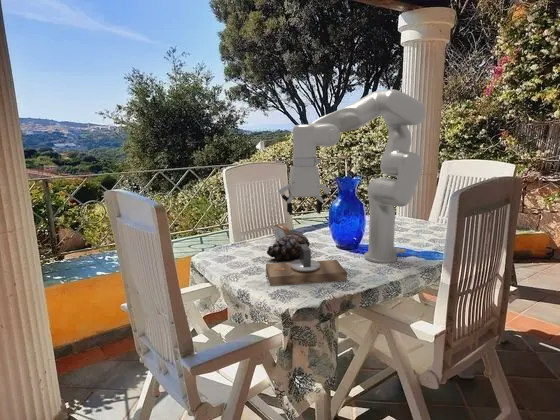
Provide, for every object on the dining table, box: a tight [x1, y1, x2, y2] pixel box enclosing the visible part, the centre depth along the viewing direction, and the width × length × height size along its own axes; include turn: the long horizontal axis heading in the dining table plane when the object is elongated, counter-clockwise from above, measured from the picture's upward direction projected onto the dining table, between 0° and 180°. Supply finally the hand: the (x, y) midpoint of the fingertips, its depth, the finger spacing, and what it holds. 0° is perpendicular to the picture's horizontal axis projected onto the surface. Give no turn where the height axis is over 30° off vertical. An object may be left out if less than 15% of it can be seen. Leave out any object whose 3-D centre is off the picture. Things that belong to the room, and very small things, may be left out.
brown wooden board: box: [265, 259, 348, 287], centre depth 141 cm, size 26×13×3 cm, turn 98°
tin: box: [273, 223, 292, 242], centre depth 179 cm, size 15×3×8 cm, turn 22°
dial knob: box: [290, 244, 320, 272], centre depth 141 cm, size 12×10×7 cm
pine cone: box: [266, 231, 311, 263], centre depth 159 cm, size 10×18×10 cm, turn 132°
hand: (304, 213), depth 137 cm, fingers open, 9 cm apart
